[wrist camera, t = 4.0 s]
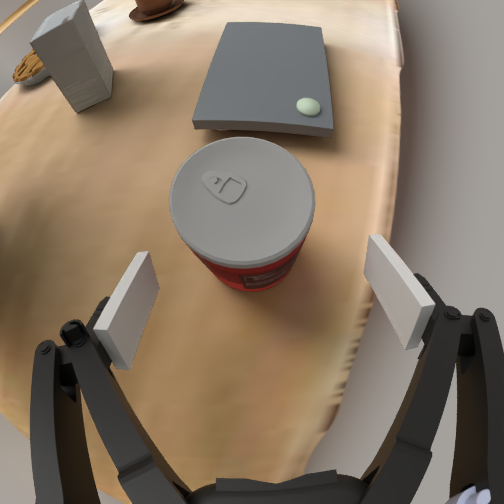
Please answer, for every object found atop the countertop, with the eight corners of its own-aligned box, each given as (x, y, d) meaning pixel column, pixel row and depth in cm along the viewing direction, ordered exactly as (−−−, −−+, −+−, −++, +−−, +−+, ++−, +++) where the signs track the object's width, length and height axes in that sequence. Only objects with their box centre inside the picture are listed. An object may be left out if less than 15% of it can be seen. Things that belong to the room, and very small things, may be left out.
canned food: (220, 201, 26) (195, 126, 16) (303, 221, 25) (327, 152, 15) (194, 278, 25) (146, 242, 14) (283, 303, 24) (299, 284, 13)
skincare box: (81, 84, 33) (41, 20, 18) (119, 67, 34) (84, -5, 18) (75, 116, 31) (22, 45, 16) (116, 97, 31) (71, 14, 16)
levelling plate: (197, 137, 28) (191, 117, 25) (228, 36, 34) (226, 20, 31) (328, 146, 28) (334, 126, 24) (318, 42, 33) (321, 25, 30)
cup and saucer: (153, 2, 42) (147, -17, 36) (196, 0, 40) (191, -21, 34) (120, 27, 39) (112, 6, 33) (163, 24, 37) (156, 0, 31)
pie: (112, 32, 39) (104, 15, 34) (31, 101, 35) (19, 86, 30) (75, 28, 43) (68, 16, 38) (12, 84, 39) (3, 72, 34)
